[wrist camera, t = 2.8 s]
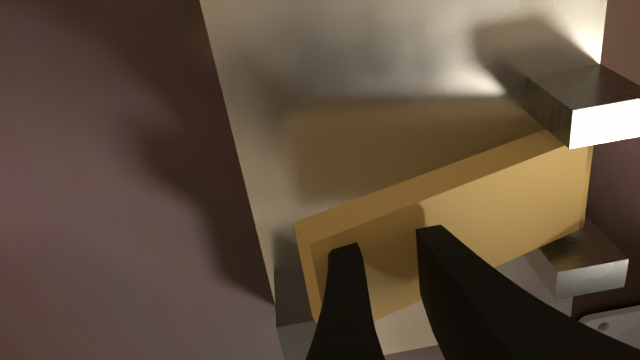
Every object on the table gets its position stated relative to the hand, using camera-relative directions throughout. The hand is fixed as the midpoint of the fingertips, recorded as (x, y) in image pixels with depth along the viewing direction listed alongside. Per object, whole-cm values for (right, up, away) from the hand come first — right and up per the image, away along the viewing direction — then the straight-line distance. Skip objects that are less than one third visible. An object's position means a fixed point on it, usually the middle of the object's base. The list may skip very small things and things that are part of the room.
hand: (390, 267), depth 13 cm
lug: (-2, -1, +4) cm, 5 cm away
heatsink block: (+1, +3, +6) cm, 6 cm away
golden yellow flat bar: (+2, +1, +2) cm, 3 cm away
